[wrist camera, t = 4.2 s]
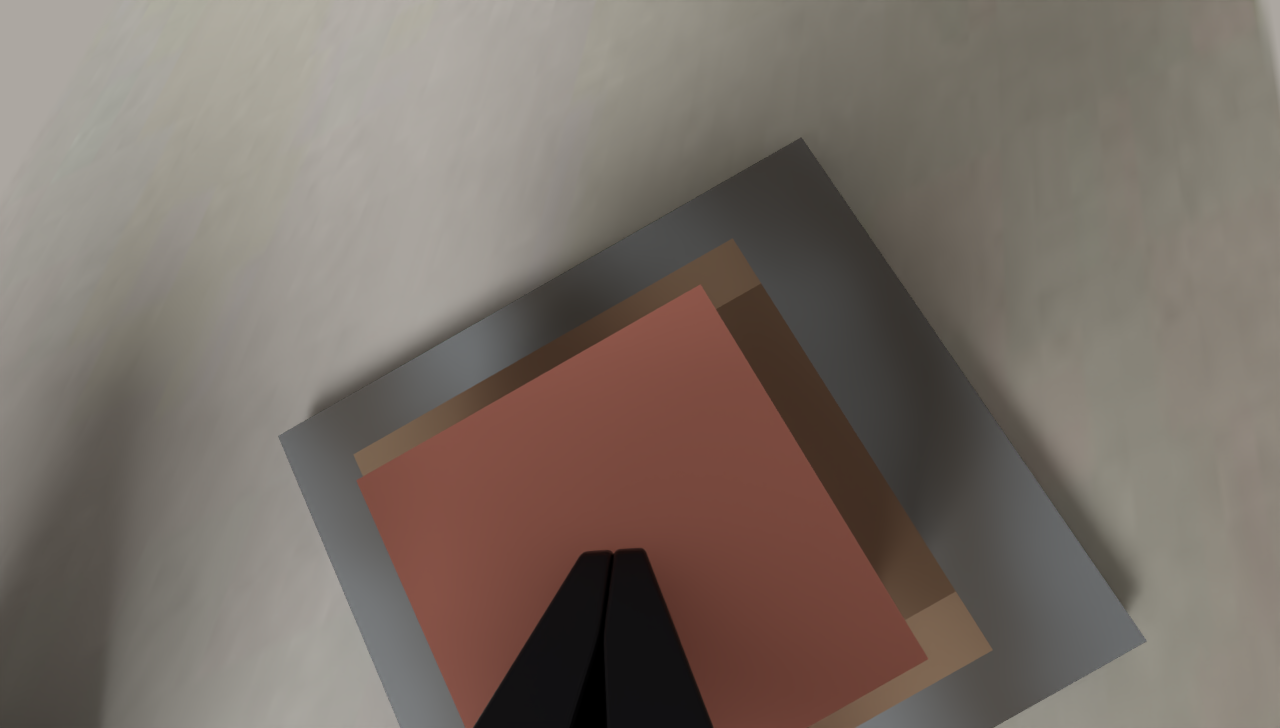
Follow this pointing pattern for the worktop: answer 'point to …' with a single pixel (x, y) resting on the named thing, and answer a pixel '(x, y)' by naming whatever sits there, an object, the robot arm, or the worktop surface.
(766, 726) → the pink eraser block
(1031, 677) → the stand
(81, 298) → the worktop surface
